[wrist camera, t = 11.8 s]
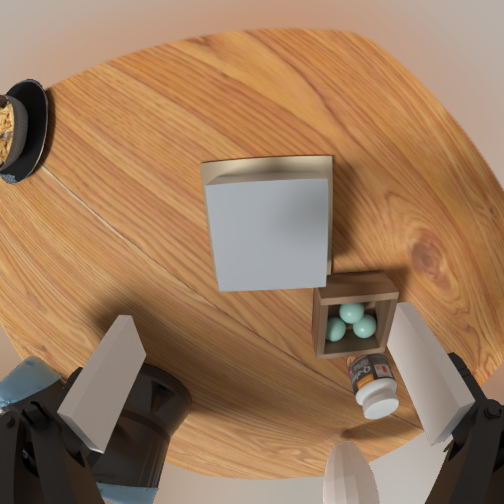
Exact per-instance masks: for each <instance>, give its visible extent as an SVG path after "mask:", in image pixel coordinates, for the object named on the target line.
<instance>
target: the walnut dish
mask: <svg viewBox="0 0 504 504" xmlns="http://www.w3.org/2000/svg"><path fill="white" fill-rule="evenodd" d="M398 296H399V291H398V290H397V288H396V287H395V285H394V284H393V283H392V281H391V280H390V278H389V277H388V276H387V274H386V273H385V272H384V270H381V271H367V272H352V273H337V274H331V275H326V287H315V288H314V294H313V316H312V338H313V344H314V350H315V355H316V360H320V359H331V358H341V357H350V356H359V355H366V354H374V353H380V352H385V349H386V345H387V342H388V338H389V334H390V330H391V326H392V322H393V318H394V314H395V310H396V305H397V301H398ZM358 302H362V303H363V305H364V314H369V315H371V316H373V317H374V319H375V320H376V324H377V327H376V330H375V332H374V334H373V335H372V336H370V337H368V338H360V337H358V336H357V335H356V334H355V333H354V331H353V323H352V324H351V323H347V322H345V321H344V323H345V325H346V332H345V334H344V336H343V337H342V338H341V339H340V340H338V341H329V340H327V339H325V337H326V327H327V318H329V317H339V318H341V317H340V314H339V309H340V306H341V304H347V303H358ZM341 319H342V318H341Z"/></svg>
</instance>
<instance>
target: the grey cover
mask: <svg viewBox="0 0 504 504" xmlns="http://www.w3.org/2000/svg"><path fill="white" fill-rule="evenodd" d="M205 189H206V197H207V206H208V214H209V222H210V229H211V237H212V244H213V251H214V258H215V265H216V272H217V279H218V285H219V292H221V291H253V290H277V289H297V288H315V287H326V274H327V249H328V178H326V177H325V176H324V175H322V174H321V173H320V172H318V171H299V172H275V173H258V174H243V175H230V176H219V177H215V178H214V179H213V180H211V181H210V182H209V183H208V184H206V185H205Z"/></svg>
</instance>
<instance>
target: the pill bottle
mask: <svg viewBox="0 0 504 504" xmlns="http://www.w3.org/2000/svg"><path fill="white" fill-rule="evenodd" d="M347 367H348V371H349V375H350V379H351V383H352V387H353V391H354V394H355V399H356V401H357V402H358V404H360V405H361V406H363V413H364V416H365V417H366V418H367V419H379V418H382V417H385V416H387V415H389V414H391V413H392V412H393V411H395V410H396V409H397V407H398V405H399V400H398V397H397V395H396V394H395V392H396V389H397V384H396V381H395V378H394V376H393V373H392V371H391V368H390V366H389V363H388V361H387V359H386V356H385V354H384V352H380V353H374V354H366V355H359V356H350V357H348V360H347Z"/></svg>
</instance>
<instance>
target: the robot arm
mask: <svg viewBox="0 0 504 504" xmlns="http://www.w3.org/2000/svg"><path fill="white" fill-rule="evenodd" d="M387 347H388V349H389V351H390V353H391V355H392V357H393V359H394V361H395V364H396V366H397V368H398V370H399V372H400V374H401V377H402V379H403V381H404V383H405V385H406V388H407V390H408V392H409V395H410V397H411V399H412V402H413V404H414V406H415V409H416V411H417V414H418V416H419V418H420V421H421V423H422V426H423V429H424V431H425V434H426V436H427V439H428V441H429V444H430V446H432V445H435V444H438V443H441V442H443V441H445V440H446V439H447V438H448V436H449V435H450V434H451V433H452V436H453V438H454V439H453V440H452V441H451V442H450V443H449V444H448V446H447V447H446V448H445V450H444V451H443V452H446V451H447V450H448V449H449V450H448V452H447V455H446V458H445V460H444V463H443V465H442V468H441V470H440V473H439V475H438V477H437V479H436V481H435V484H434V486H433V488H432V490H431V492H430V495H429V496H428V498H427V500H426V502H425V504H504V405H501V404H500V403H499V402H498V401H495V400H493V399H487V398H486V397H485V395H484V393H483V391H482V390H481V388H480V386H479V385H478V383H477V381H476V380H475V378H474V377H473V375H471V372H470V370H469V369H467V366H466V364H465V363H464V361H463V360H462V358H460V357H459V356H458V355H456V354H455V353H454V352H452V353H449V354H447V353H446V352H445V350H444V349H443V347H442V346H441V344H440V343H439V341H438V340H437V338H436V337H435V335H434V334H433V332H432V331H431V330H430V328H429V327H428V325H427V324H426V322H425V321H424V320H423V318H422V317H421V316H420V314H419V313H418V311H417V310H416V309H415V307H414V306H413V305H412V303H411V302H402V303H397V306H396V311H395V315H394V319H393V324H392V328H391V332H390V335H389V339H388V343H387ZM145 357H146V353H145V351H144V348H143V345H142V343H141V340H140V338H139V335H138V332H137V330H136V327H135V324H134V321H133V318H132V315H119V316H118V317H117V319H116V320H115V321H114V323H113V324H112V326H111V327H110V329H109V330H108V332H107V333H106V334H105V336H104V337H103V339H102V340H101V342H100V343H99V345H98V346H97V348H96V349H95V351H94V352H93V354H92V355H91V357H90V359H89V360H88V362H87V363H86V365H85V366H84V368H83V367H79V368H78V369H76V370H75V371H74V372H73V373H72V374H71V375H70V377H69V379H68V380H67V383H66V382H65V381H64V380H63V379H62V378H61V375H60V374H58V373H56V372H55V371H54V370H53V369H51V368H50V367H49V366H48V365H47V364H46V363H45V362H44V361H43V360H42V359H40V358H39V357H36V356H30V357H28V358H26V359H25V360H24V361H23V362H21V363H20V364H19V365H18V366H17V367H16V368H15V369H14V370H13V371H11V372H10V373H9V374H8V375H7V376H6V377H5V378H4V379H3V380H2V381H1V382H0V504H105V503H104V501H103V500H106V501H109V502H112V503H115V504H152V503H153V500H154V498H155V495H156V492H157V491H158V489H159V488H158V484H159V481H160V476H161V473H162V469H163V465H164V461H165V458H166V454H167V450H168V446H169V443H170V439H171V437H172V435H173V434H174V433H175V431H176V430H177V429H178V427H179V426H180V425H181V424H182V422H183V421H184V420H185V418H186V417H187V415H188V413H189V410H190V406H191V397H190V394H189V392H188V391H187V389H186V388H185V387H184V386H183V385H182V384H181V383H180V382H179V381H178V380H177V379H175V378H174V377H173V376H171V375H170V374H168V373H166V372H164V371H162V370H160V369H158V368H156V367H153V366H151V365H147V364H144V363H143V361H144V359H145Z"/></svg>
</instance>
